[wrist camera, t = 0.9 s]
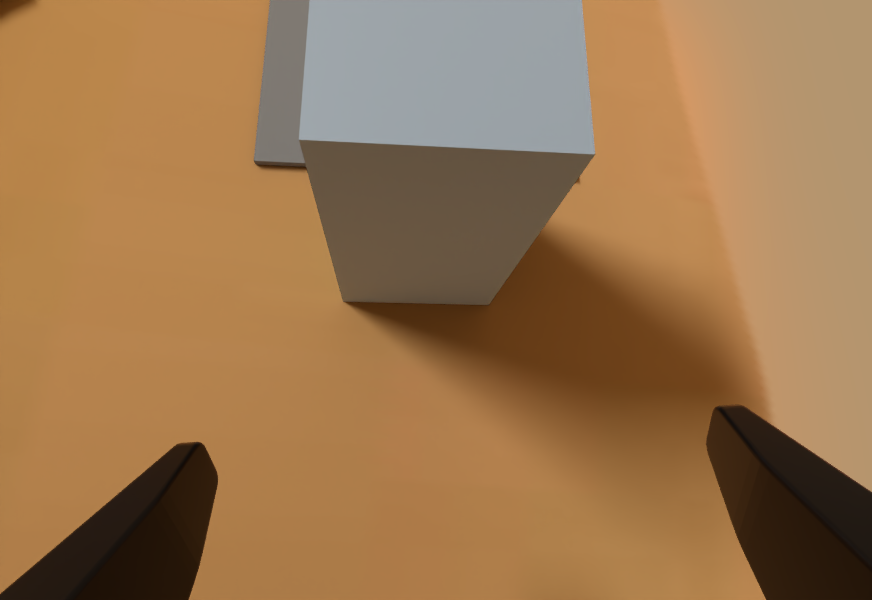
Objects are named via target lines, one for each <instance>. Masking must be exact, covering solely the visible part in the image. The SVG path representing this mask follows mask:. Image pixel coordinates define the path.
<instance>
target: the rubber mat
mask: <svg viewBox="0 0 872 600" xmlns="http://www.w3.org/2000/svg"><path fill="white" fill-rule="evenodd" d="M309 1H310V0H270V7H269V16H268V26H267V36H266V46H265V56H264V66H263V76H262V86H261V95H260V105H259V115H258V125H257V135H256V145H255V155H254V162H255V164H259V165H281V166H303V167H306V164H305V161H304V157H303V153H302V150H301V146H300V142H299V130H300V117H301V104H302V91H303V78H304V65H305V52H306V40H307V27H308V14H309Z"/></svg>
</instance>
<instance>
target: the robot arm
mask: <svg viewBox="0 0 872 600" xmlns="http://www.w3.org/2000/svg"><path fill="white" fill-rule="evenodd" d="M706 445H707V451H708V455H709V458H710V461H711V464H712V466H713V469H714V472H715V475H716V478H717V481H718V484H719V487H720V490H721V493H722V496H723V498H724V501H725V504H726V507H727V510H728V513H729V516H730V519H731V522H732V525H733V527H734V530H735V533H736V535H737V538H738V540H739V543H740V545H741V547H742V549H743V552H744V554H745V556H746V558H747V560H748V562H749V564H750V566H751V569H752V571H753V573H754V575H755V577H756V579H757V581H758V583H759V586H760V588H761V590H762V592H763V594H764V596H765V598H766V600H872V492H871V491H869V490H868V489H866V488H865V487H863V486H862V485H860V484H859V483H857V482H856V481H854V480H853V479H851V478H850V477H848V476H847V475H846V474H844V473H843V472H841V471H840V470H838V469H837V468H835V467H833V466H832V465H831V464H829V463H828V462H826V461H824V460H823V459H822V458H820V457H819V456H817V455H816V454H814V453H813V452H811V451H810V450H808V449H807V448H805V447H804V446H802V445H801V444H799V443H798V442H796V441H795V440H794V439H792V438H790V437H789V436H788V435H786V434H785V433H783V432H782V431H780V430H779V429H777V428H776V427H774V426H773V425H771V424H770V423H768V422H767V421H765V420H764V419H762V418H761V417H759V416H758V415H756V414H755V413H753V412H752V411H750V410H749V409H748V408H746V407H744V406H742V405H722V406H717V407H715V409H714V410H713V413H712V417H711V422H710V426H709V431H708V435H707V442H706ZM217 485H218V475H217V471H216V469H215V467H214V464H213V462H212V460H211V458H210V456H209V454H208V452H207V450H206V448H205V446H204V445H203V444H202V443H201V442H189V443H180V444H177V445H176V446H174V447H173V448H172V449H171V450H169V451H168V452H167V453H166V454H165V455H163V456H162V457H161V458H160V459H159V460H158V461H156V462H155V463H154V464H153V465H152V466H150V467H149V468H148V469H147V470H146V471H145V472H143V473H142V474H141V475H140V476H139V477H138V478H136V479H135V480H134V481H133V482H132V483H130V484H129V485H128V486H127V487H126V488H125V489H123V490H122V491H121V492H120V493H119V494H117V495H116V496H115V497H114V498H113V499H112V500H110V501H109V502H108V503H107V504H106V505H105V506H103V507H102V508H101V509H100V510H99V511H97V512H96V513H95V514H94V515H93V516H92V517H90V518H89V519H88V520H87V521H86V522H84V523H83V524H82V525H81V526H80V527H79V528H77V529H76V530H75V531H74V532H73V533H71V534H70V535H69V536H68V537H67V538H66V539H64V540H63V541H62V542H61V543H60V544H59V545H57V546H56V547H55V548H54V549H53V550H51V551H50V552H49V553H48V554H47V555H46V556H44V557H43V558H42V559H41V560H40V561H38V562H37V563H36V564H35V565H34V566H33V567H31V568H30V569H29V570H28V571H27V572H25V573H24V574H23V575H22V576H21V577H20V578H18V579H17V580H16V581H15V582H14V583H12V584H11V585H10V586H9V587H8V588H7V589H5V590H4V591H3V592H2V593H1V594H0V600H189V597H190V594H191V591H192V588H193V585H194V582H195V578H196V575H197V572H198V569H199V565H200V561H201V557H202V553H203V549H204V544H205V540H206V535H207V531H208V526H209V521H210V517H211V512H212V508H213V503H214V499H215V494H216V490H217Z"/></svg>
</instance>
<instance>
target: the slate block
mask: <svg viewBox="0 0 872 600" xmlns="http://www.w3.org/2000/svg"><path fill="white" fill-rule="evenodd" d="M299 142H300V146H301V150H302V153H303V157H304V161H305V164H306V168H307V172H308V175H309V179H310V183H311V186H312V190H313V193H314V197H315V201H316V204H317V208H318V212H319V215H320V219H321V223H322V226H323V230H324V234H325V237H326V241H327V245H328V248H329V252H330V255H331V259H332V263H333V266H334V270H335V274H336V277H337V281H338V285H339V288H340V292H341V296H342V299H343V302H383V303H424V304H464V305H489V304H490V302H491V301H492V300H493V298H494V297H495V295H496V294H497V293H498V291H499V290H500V288H501V287H502V285H503V284H504V283H505V281H506V280H507V278H508V277H509V276H510V274H511V273H512V271H513V270H514V268H515V267H516V266H517V264H518V263H519V261H520V260H521V259H522V257H523V256H524V254H525V253H526V252H527V250H528V249H529V247H530V246H531V244H532V243H533V242H534V240H535V239H536V237H537V236H538V235H539V233H540V232H541V230H542V229H543V227H544V226H545V225H546V223H547V222H548V220H549V219H550V218H551V216H552V215H553V213H554V212H555V210H556V209H557V208H558V206H559V205H560V203H561V202H562V201H563V199H564V198H565V196H566V195H567V193H568V192H569V191H570V189H571V188H572V186H573V185H574V184H575V182H576V181H577V179H578V178H579V176H580V175H581V174H582V172H583V171H584V169H585V168H586V167H587V165H588V164H589V162H590V161H591V159H592V158H593V157H594V155H595V148H594V136H593V125H592V113H591V102H590V90H589V79H588V67H587V56H586V44H585V33H584V21H583V10H582V0H310V1H309V14H308V27H307V40H306V52H305V65H304V78H303V91H302V104H301V117H300V130H299Z"/></svg>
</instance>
